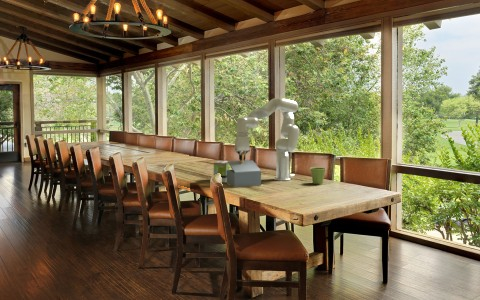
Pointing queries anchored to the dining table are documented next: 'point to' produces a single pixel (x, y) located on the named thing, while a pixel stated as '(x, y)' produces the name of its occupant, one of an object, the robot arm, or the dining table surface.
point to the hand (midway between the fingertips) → (242, 160)
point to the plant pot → (317, 175)
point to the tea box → (222, 169)
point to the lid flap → (244, 165)
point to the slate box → (243, 179)
